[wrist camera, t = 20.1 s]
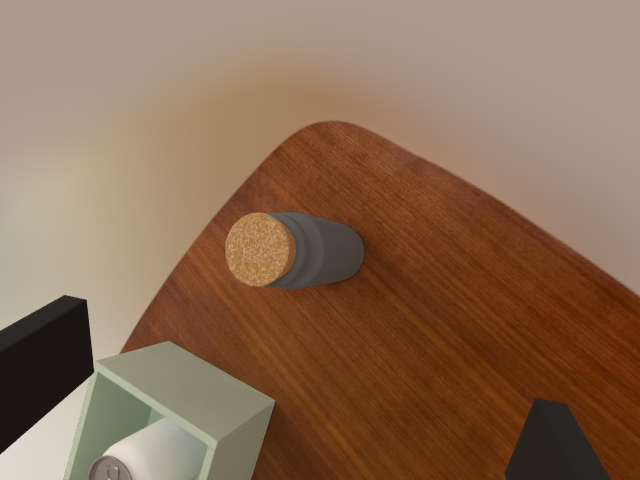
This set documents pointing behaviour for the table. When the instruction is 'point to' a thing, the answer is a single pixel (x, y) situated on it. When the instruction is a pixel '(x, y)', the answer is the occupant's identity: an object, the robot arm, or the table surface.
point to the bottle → (292, 250)
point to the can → (152, 455)
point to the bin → (171, 409)
